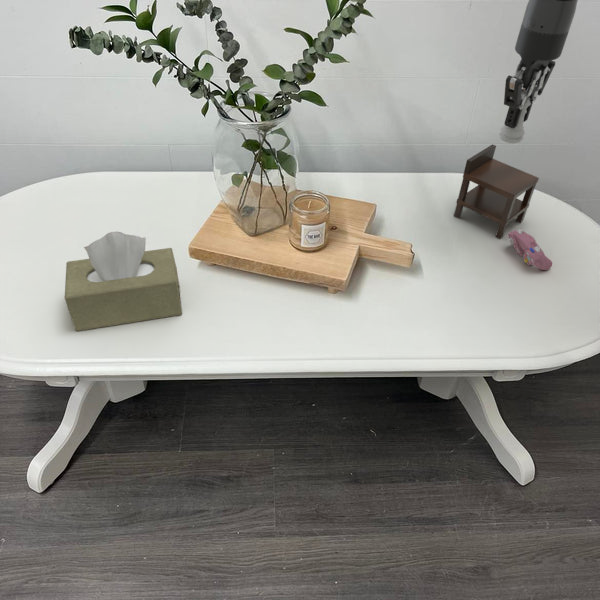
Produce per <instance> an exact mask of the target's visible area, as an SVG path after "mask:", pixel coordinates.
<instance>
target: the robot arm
mask: <svg viewBox="0 0 600 600" xmlns="http://www.w3.org/2000/svg"><path fill="white" fill-rule="evenodd" d="M577 5H578V0H528V2H527V4H526V6H525V11H524V14H523V17H522V21H521V23H520V27H519V32H518V35H517V38H516V42H515V46H514V50H515V52H516V53H517V54H518V55H519V56H520V61H519V63H518V65H517V66H516V69H515V72H514V75H513V76H512V75H507V77H506V78H505V84H504V85H505V87H504V97H503V106H508V109H507V113H506V117H505V120H504V125H505V126H508V127H510V128H515V127H517V125H518V122H519V118H520V115H521V112H522V108H523V106H524V104H525V101H526V98H527V97H528V96H529V97H530V103H531V105H530V106H528V107H527V109H526V110H527V113H525V116H524V121H523V123H525V122H526V121H528V118H529V116H530V113H531V110H532V107H533V103H534V102H535V101H536V100H537V99H538V96H539V97H540V96H541V95H542V94H543V91H544V89H545V87H546V85H547V83H548V80H549V79H550V77H551V74H552V72H553V70H554V68H555V66H556V61H555V60H557V59H559V58H560V57H561V56H562V53H563V50H564V47H565V44H566V41H567V38H568V35H569V33H570V29H571V27H572V24H573V21H574V17H575V14H576V11H577ZM521 95H522V98H521Z"/></svg>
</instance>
